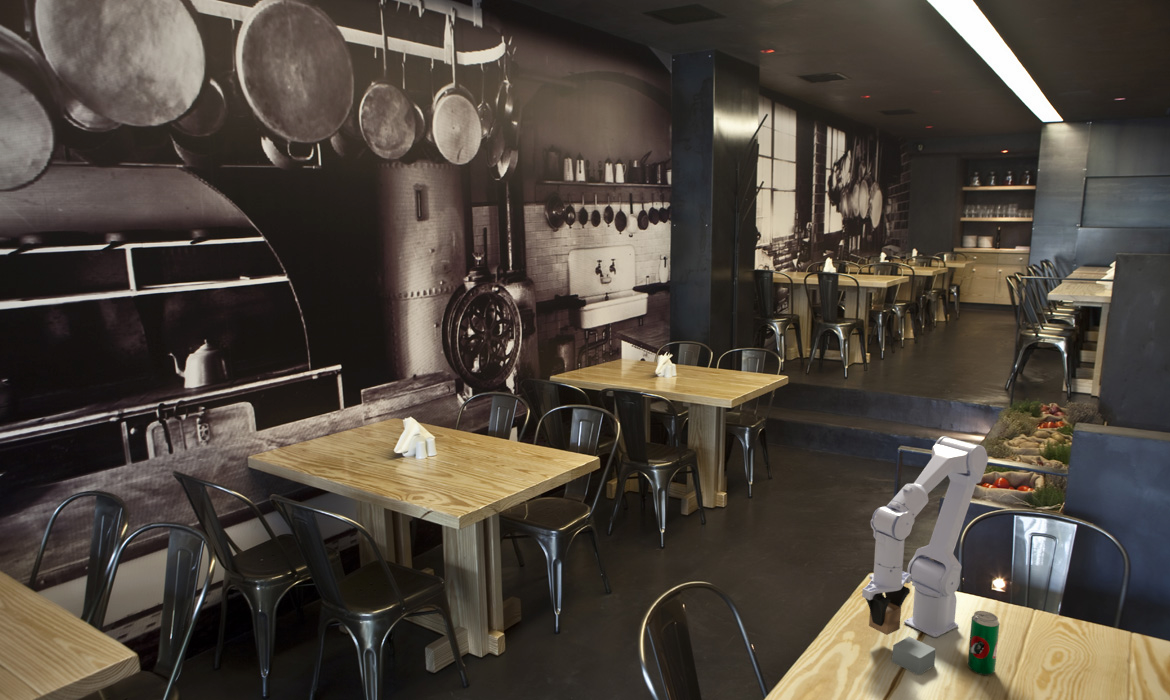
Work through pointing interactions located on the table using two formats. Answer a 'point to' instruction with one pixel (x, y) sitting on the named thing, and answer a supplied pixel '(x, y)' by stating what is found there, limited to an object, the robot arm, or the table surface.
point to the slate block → (913, 655)
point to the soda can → (983, 642)
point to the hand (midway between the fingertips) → (884, 620)
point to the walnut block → (888, 620)
